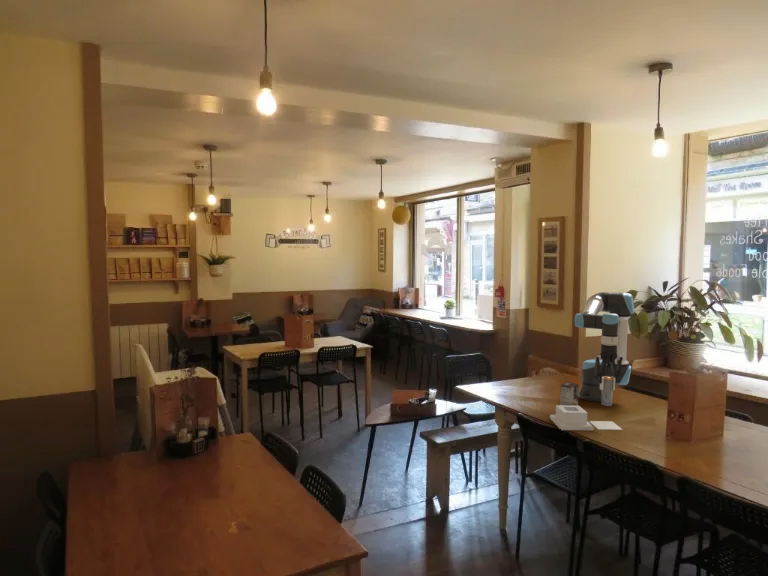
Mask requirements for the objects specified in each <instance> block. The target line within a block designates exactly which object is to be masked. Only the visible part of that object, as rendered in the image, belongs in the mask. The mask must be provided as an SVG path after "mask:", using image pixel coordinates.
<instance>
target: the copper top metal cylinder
mask: <svg viewBox="0 0 768 576" xmlns="http://www.w3.org/2000/svg"><path fill="white" fill-rule="evenodd" d="M603 377H604V387H603V390H602V397H601V401H600V404H601V405H602V406H604V407H605V406H606V407H612V406H613V391H614V390H613V377H609V376H603Z"/></svg>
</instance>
